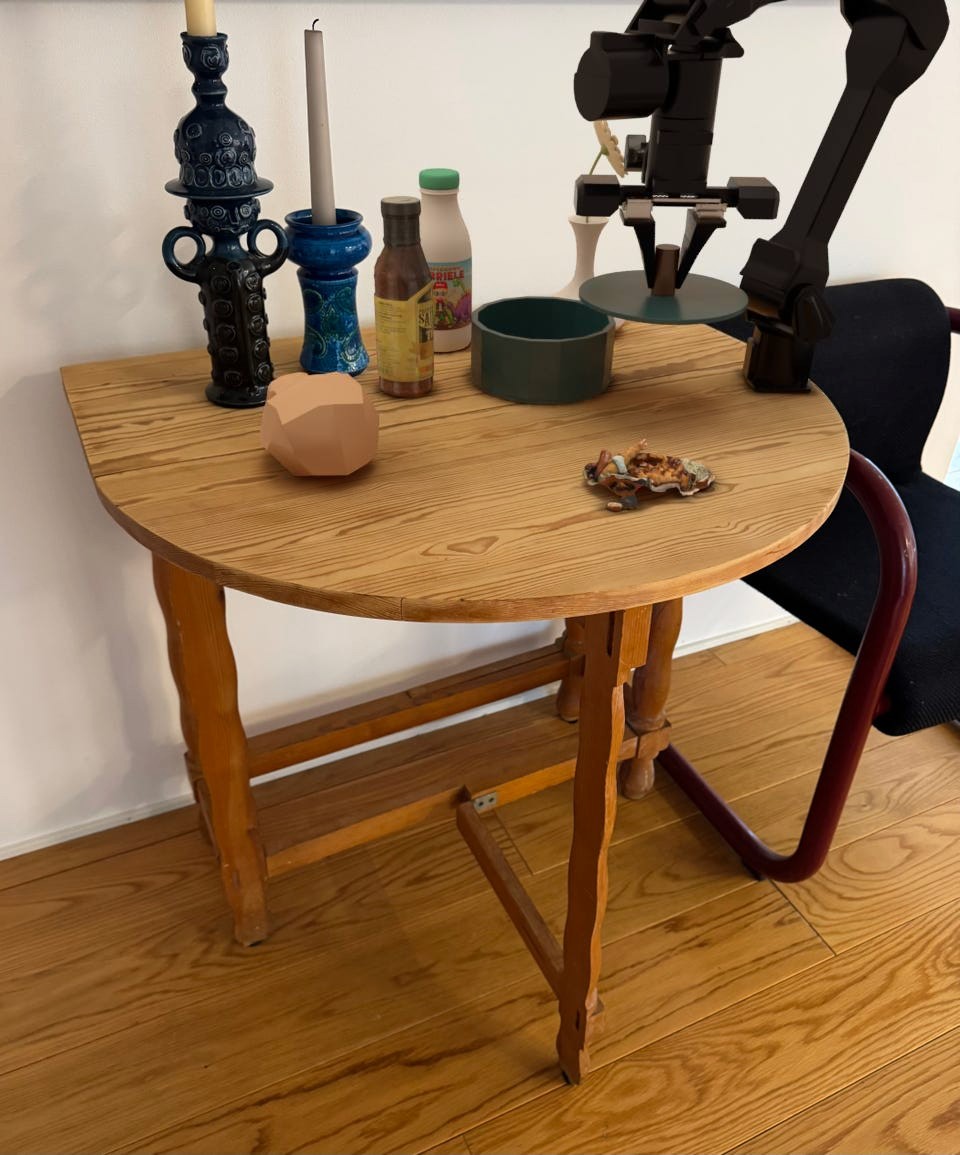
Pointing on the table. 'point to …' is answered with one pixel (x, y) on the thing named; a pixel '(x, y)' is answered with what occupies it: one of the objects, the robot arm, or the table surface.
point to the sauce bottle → (403, 302)
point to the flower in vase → (592, 220)
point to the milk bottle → (446, 258)
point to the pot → (541, 350)
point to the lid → (663, 294)
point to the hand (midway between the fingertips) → (663, 287)
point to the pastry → (645, 474)
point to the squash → (319, 424)
